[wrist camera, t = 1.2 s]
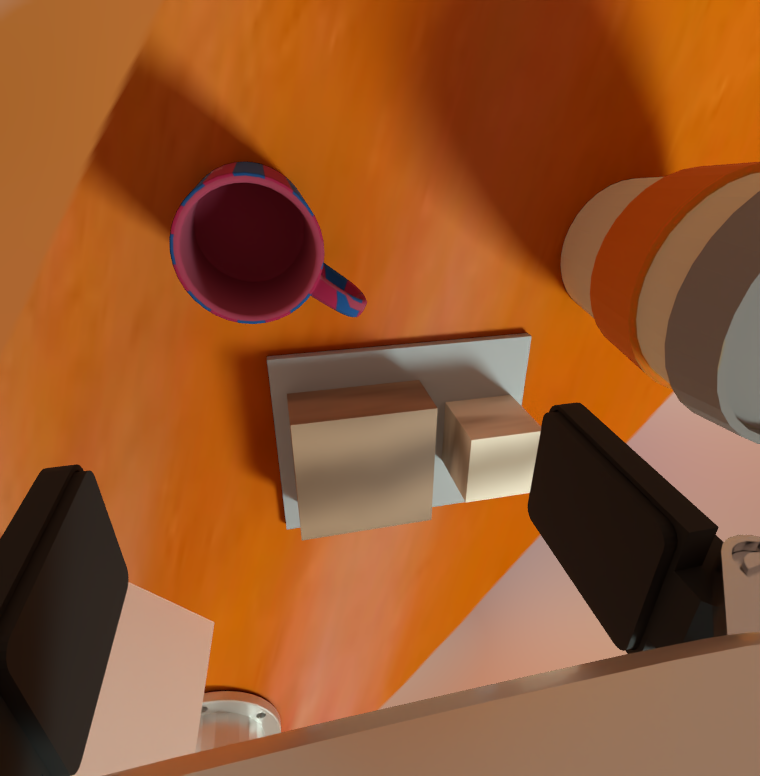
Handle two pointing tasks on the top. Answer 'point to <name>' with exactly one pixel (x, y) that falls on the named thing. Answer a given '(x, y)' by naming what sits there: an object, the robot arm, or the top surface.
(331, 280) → the cup
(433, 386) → the board
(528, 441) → the birch cube
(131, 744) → the milk
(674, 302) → the reusable coffee cup
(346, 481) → the walnut slab
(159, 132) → the top surface
